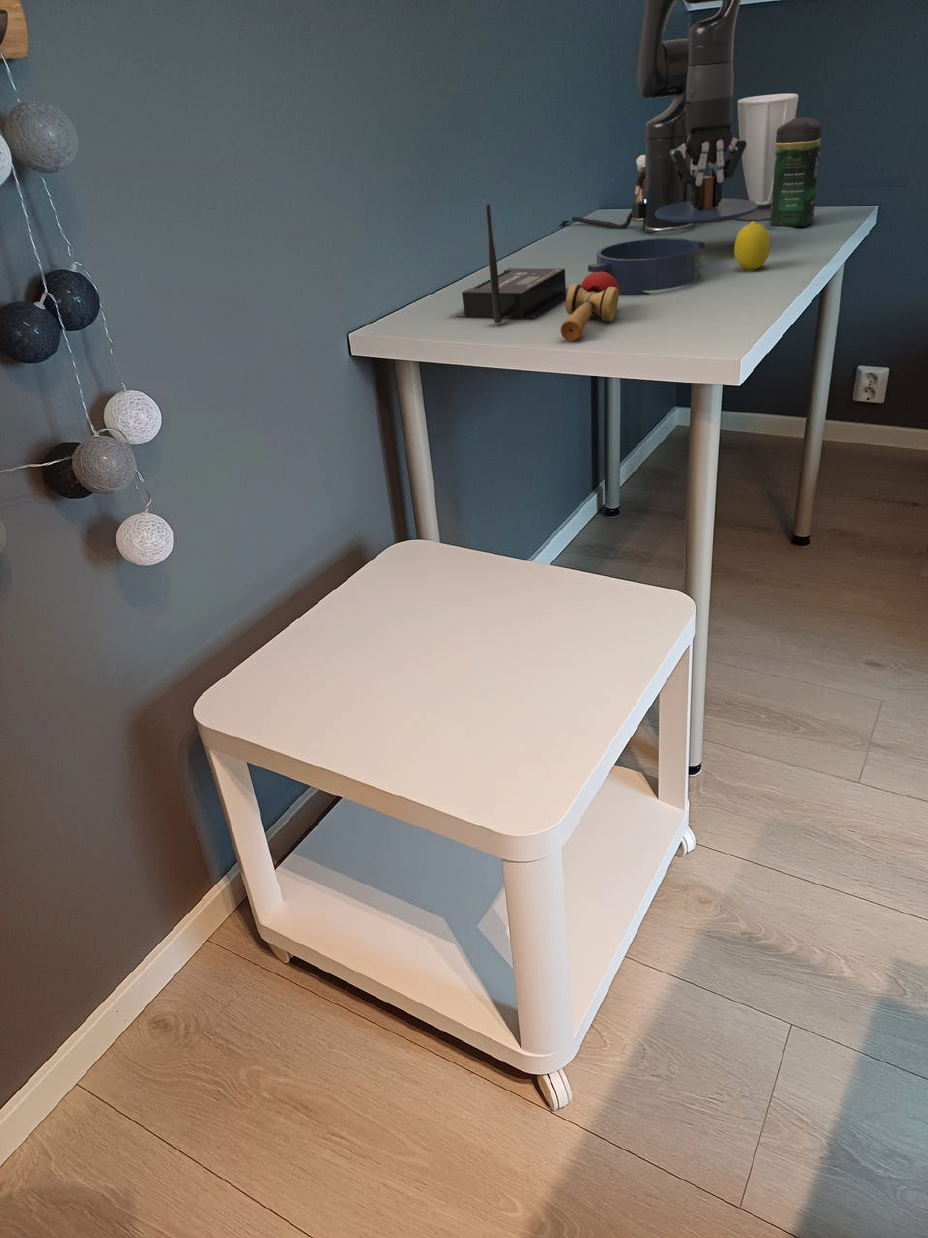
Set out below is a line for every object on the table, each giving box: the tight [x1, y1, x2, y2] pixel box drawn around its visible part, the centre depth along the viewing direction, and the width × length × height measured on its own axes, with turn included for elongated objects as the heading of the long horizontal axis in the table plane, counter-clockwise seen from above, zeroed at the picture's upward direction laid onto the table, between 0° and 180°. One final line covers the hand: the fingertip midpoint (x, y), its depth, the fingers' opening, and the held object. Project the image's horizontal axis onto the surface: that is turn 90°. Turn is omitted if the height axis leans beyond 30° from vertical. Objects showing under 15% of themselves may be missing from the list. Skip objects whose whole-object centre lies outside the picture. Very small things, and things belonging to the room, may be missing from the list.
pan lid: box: [655, 175, 758, 224], centre depth 163 cm, size 17×17×6 cm
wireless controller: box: [456, 203, 568, 324], centre depth 147 cm, size 20×14×17 cm
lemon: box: [733, 220, 771, 272], centre depth 153 cm, size 6×6×8 cm
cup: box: [734, 93, 799, 221], centre depth 190 cm, size 12×12×22 cm
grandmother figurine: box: [634, 154, 645, 221], centre depth 203 cm, size 8×4×13 cm, turn 154°
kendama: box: [560, 272, 620, 342], centre depth 137 cm, size 8×6×18 cm
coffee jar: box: [769, 116, 823, 229], centre depth 180 cm, size 10×8×19 cm
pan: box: [587, 237, 706, 296], centre depth 155 cm, size 16×22×5 cm
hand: (705, 206), depth 164 cm, fingers closed on pan lid, 2 cm apart
